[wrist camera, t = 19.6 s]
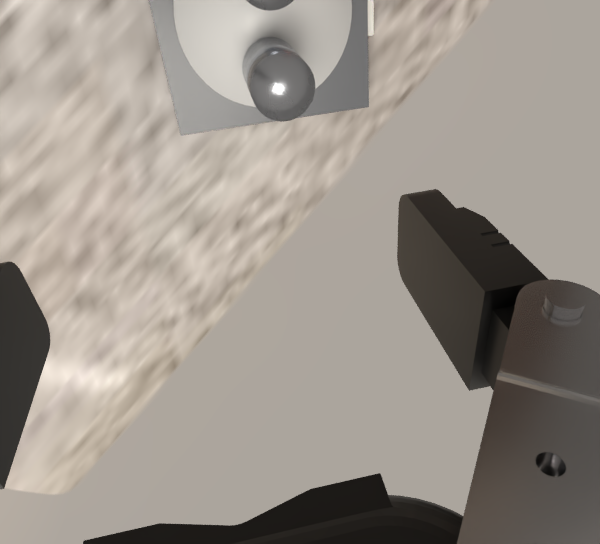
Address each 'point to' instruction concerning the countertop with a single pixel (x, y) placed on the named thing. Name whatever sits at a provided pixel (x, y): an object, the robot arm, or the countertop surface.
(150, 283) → the countertop surface
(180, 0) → the scale
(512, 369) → the robot arm
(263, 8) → the cylinder
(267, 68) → the cylinder
